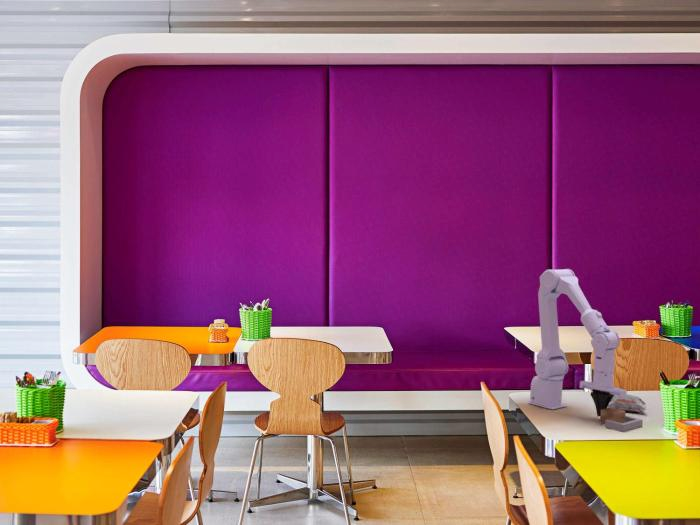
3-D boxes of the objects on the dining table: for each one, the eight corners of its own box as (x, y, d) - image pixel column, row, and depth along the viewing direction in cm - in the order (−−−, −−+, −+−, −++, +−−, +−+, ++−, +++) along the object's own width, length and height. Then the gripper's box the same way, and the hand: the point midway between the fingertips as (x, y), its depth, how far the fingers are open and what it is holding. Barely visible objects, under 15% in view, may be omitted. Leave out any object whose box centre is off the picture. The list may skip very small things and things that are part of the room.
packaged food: (645, 416, 238) (646, 400, 237) (605, 411, 242) (606, 396, 241) (645, 410, 246) (646, 395, 245) (606, 405, 250) (607, 390, 250)
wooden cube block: (600, 422, 227) (600, 409, 227) (609, 420, 230) (610, 407, 230) (615, 427, 223) (615, 413, 223) (624, 424, 226) (625, 411, 226)
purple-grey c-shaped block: (604, 426, 223) (605, 420, 223) (623, 421, 230) (624, 415, 230) (623, 431, 218) (623, 425, 218) (642, 426, 225) (642, 419, 225)
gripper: (633, 374, 226) (630, 419, 227) (589, 365, 237) (587, 408, 238) (620, 376, 221) (617, 423, 222) (576, 367, 232) (574, 411, 233)
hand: (601, 415), depth 230 cm, fingers closed
